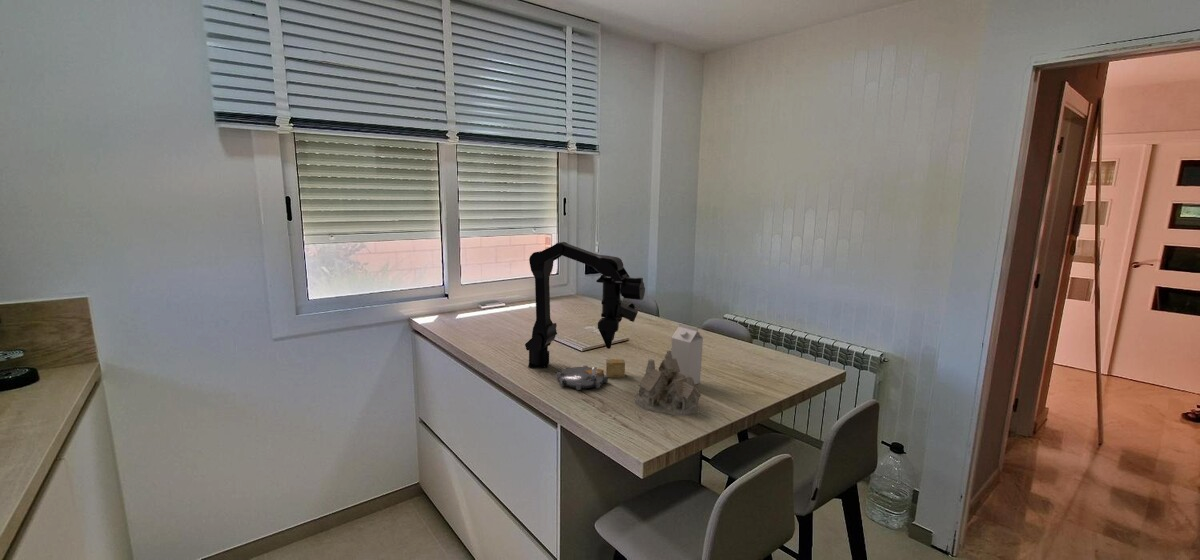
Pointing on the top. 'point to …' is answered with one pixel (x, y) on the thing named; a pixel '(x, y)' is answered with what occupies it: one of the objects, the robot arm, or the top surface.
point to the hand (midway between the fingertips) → (610, 344)
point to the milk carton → (688, 351)
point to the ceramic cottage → (667, 389)
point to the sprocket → (582, 377)
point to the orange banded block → (615, 367)
